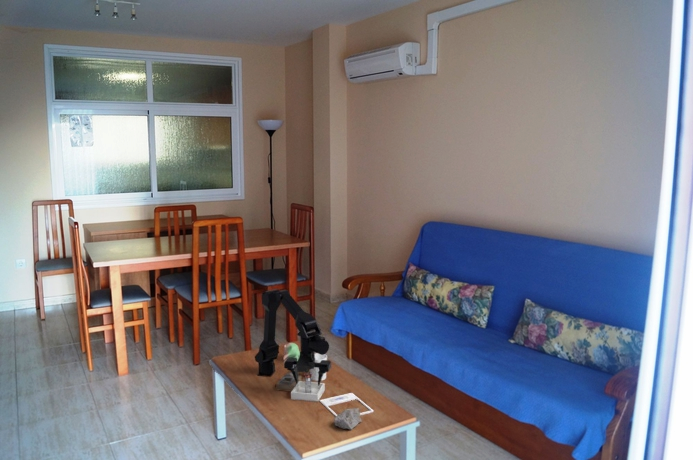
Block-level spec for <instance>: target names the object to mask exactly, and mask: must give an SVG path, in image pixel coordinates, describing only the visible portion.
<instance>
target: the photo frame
mask: <svg viewBox="0 0 693 460" xmlns="http://www.w3.org/2000/svg"><path fill="white" fill-rule="evenodd" d="M355 399H356V400H357V401H358V402H359V401H360V404H361V405H362V406H364V407H365V408H367V410H368V411H363V412H360V416H363V415H367V414H372V413H374V409H372V408H371V407H370V406H369V405H367V404H366V403H365V402H364V401H363V400H361V398H359V397H358V396H357V395H355V394H354V393H353V392H349V393H345V394H341V395H336V396H332V397H327V398H324V399H323V398H322V399H319V402H320V403H321V404H322V405H323V406H324V407H325V408H326V409H327V410H328V411H330V413H332V414H333V416H335V417H336V416H337V415H338V414H337V413H336V412H335V411H334V410H333V409H332V408H330V406H334V405H338V404H342V403H346V402H350V401H351V400H352V401H356V400H355ZM352 401H351V402H352Z"/></svg>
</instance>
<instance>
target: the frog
mask: <svg viewBox="0 0 693 460" xmlns="http://www.w3.org/2000/svg"><path fill="white" fill-rule="evenodd" d="M283 352H284V354H283V363H284V362H285V361H286V360H287V359H288V358H289V357H291V358H297V361H298V359H299V356H300V352H301V350H300V349H299V345H297V344H296V343H295V342H289V343H286V344H284V346H283Z"/></svg>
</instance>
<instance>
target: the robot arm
mask: <svg viewBox="0 0 693 460" xmlns="http://www.w3.org/2000/svg"><path fill="white" fill-rule="evenodd" d="M261 305H262V307H264V326H263V340H262V341H261V343H260V345H259V346H258V352H257V353H256V355H254V360H255V363H258V373H257V374H256V375H257V376H260V377H272V376H273V375H274V373H275V372H276V362H275V360H277V359H278V356H279V353H280V350H279V349H280V345H279V344H278V343H277V342H276V327H277V311H278V309H279V308H280V306H281V305H282V306H283V307H284V308H285V310H286V311H288V313H289V314H290V315H291V317H292V318H293V319H294V325H295V327H296V328H297V330H298V333H296V336H299V338H300V339H299V341H300V356H299V359H298V361H297V358H295V357H293V358H291V357H289V358H288V357H287V358H288V359H287V358H286V359H287V360H286V359H285V360H286V361H285V360H284V361H285V362H284V361H283V368H284V369H287V371H289V372H290V373H292V374H293V376H294V379H295V381H296V383H297V384H298V376H299V373H305V374H306V373H310V369H314V367H318V368H319V372H318V374H319V376H318V381H317V383H318V386H319V385H320V383H322V381H321V379H322V376H323V374H324V373H326V374H327V373H328V372H329V371H330V370H331V368H332V362H331V360H328V359H327V360H322V361H321V362H320V363H317V362H315V354H316V353H318V354H321V355H324V354H325V355H327V353H328V351H329V350H330V343H329V341H327V340H326V337H325V336H321V335H323V333H322V331H321V328H320V326H319V324H318V321H317V319H316V317H314V316H313V315H311V313H308V312H305V311H304V309H303V308H302V307H301V306H300V305H299V304H298V302H297V301H296V300H295V299H294V298H293V297H292V295H291V294H290V291H289V290H287V289H285V290H279V289H277V288H275V289H271V290H270V289H269V290H266V291H263V292H262V294H261Z"/></svg>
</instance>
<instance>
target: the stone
mask: <svg viewBox="0 0 693 460" xmlns="http://www.w3.org/2000/svg"><path fill="white" fill-rule="evenodd" d="M360 413H361V412H360V407H355V408H349V409H347V408H346V409H344V410H343V411H341V413H338V414H337V416H335V417H334V419H333V421H334V426H336V427H339V428H340V429H347V430H353V428H355V427H356V426H358V424H359V423H362V418H361V415H360Z"/></svg>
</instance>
